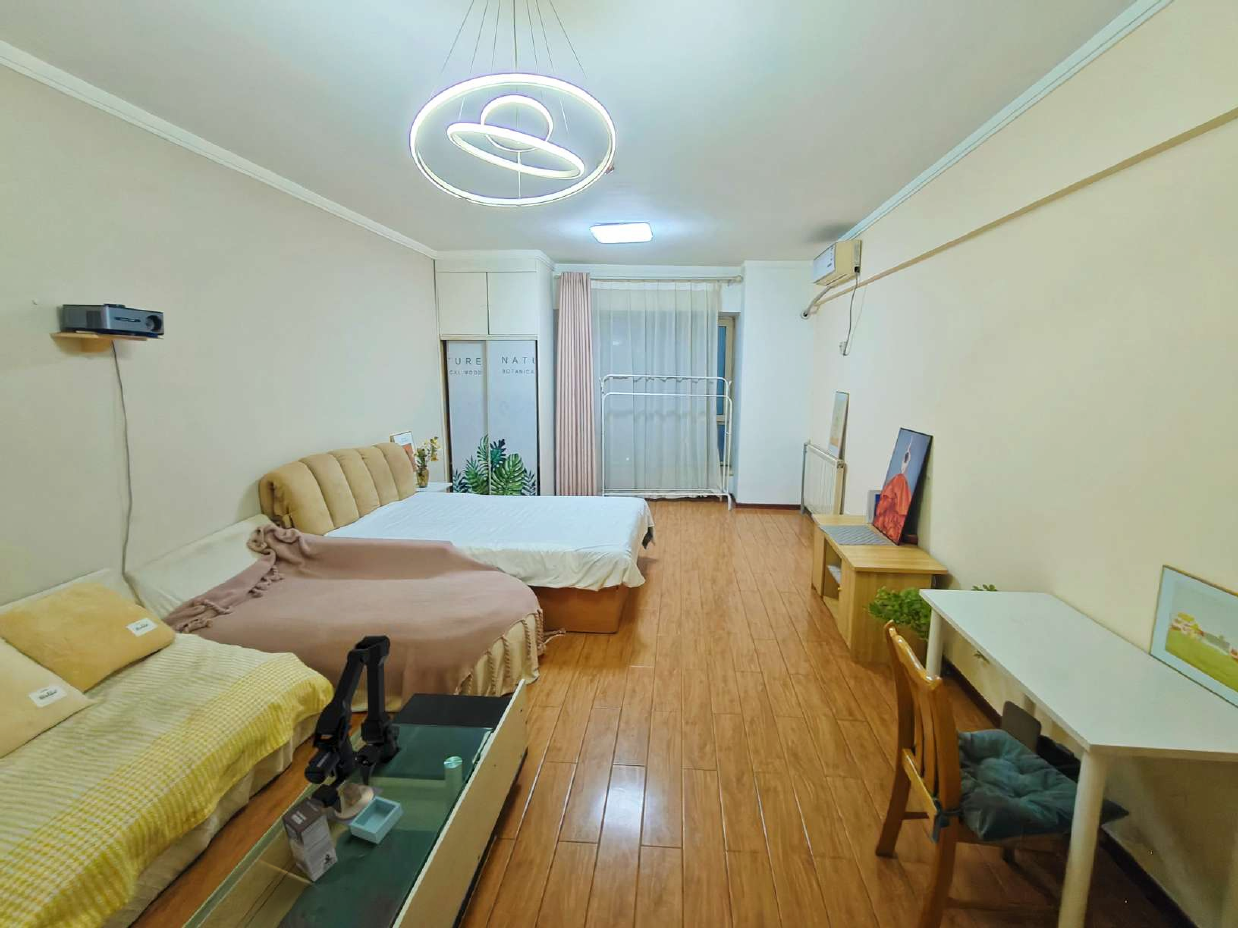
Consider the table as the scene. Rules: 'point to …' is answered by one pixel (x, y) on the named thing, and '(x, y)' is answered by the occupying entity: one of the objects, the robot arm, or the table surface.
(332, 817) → the mat
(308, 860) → the coffee box
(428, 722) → the table surface
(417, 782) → the table surface
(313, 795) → the robot arm
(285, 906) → the table surface
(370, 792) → the lid
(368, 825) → the open box
